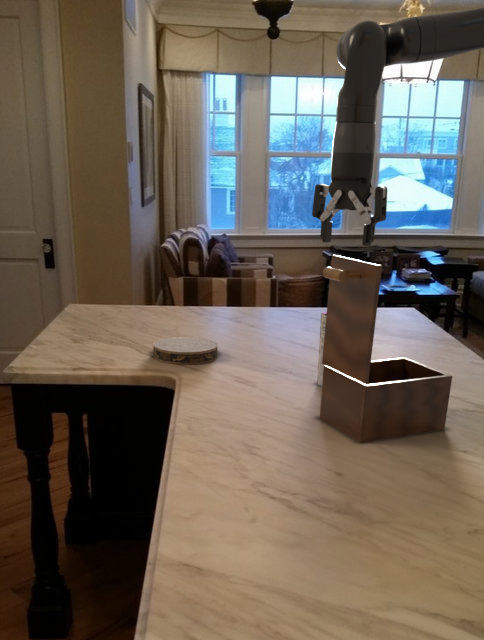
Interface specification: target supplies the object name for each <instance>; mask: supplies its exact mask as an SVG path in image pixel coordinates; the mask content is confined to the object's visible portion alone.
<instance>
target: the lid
mask: <svg viewBox="0 0 484 640" xmlns="http://www.w3.org/2000/svg"><path fill="white" fill-rule="evenodd" d="M382 270H383V265H382V264H377V263H373V262H369V261H364V260H360V259H356V258H352V257H351V258H350V257H346V256H342V255H337V254H331V261H330V266H326V267H324V268H323V270H322V276H323V277H324V278H326V279H329V284H328V285H329V286H328V296H327V303H326V312H327V315H326V326H325V336H324V347H323V358H322V364H325V365H327V366H329V367H331V368H333V369H335V370H337V371H339V372H341V373H343V374H345V375H347V376H350V377H352V378H354V379H356V380H358V381H360V382H362V383H364V384H366V383H368V380H369V372H370V364H371V361H372V355H373V348H374V347H373V345H374V339H375V331H376V330H375V329H376V321H377V313H378V303H379V297H380V296H379V295H380V289H381V288H380V287H381V279H382V272H383V271H382Z"/></svg>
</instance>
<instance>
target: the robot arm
mask: <svg viewBox="0 0 484 640" xmlns="http://www.w3.org/2000/svg"><path fill="white" fill-rule="evenodd" d="M337 41H338V42H337V45H336V49H335V52H336V53H335V54H336V59H337V61H338V63H339V64H340V66H341V67H342V68H343V69H344V77H343V84H342V87H341V88H340V90H339V92H338V95H337V100H336V113H335V124H334V131H333V137H332V144H331V145H332V146H331V166H330V184H329V185H327V184H325V183H318V184H316V185H315V186H314V191H313V192H314V193H313V201H312V203H313V204H312V210H311V211H312V212H311V217H313V218H316V219H318V220H319V221H320V224H321V225H320V234H319V236H320V239H321V240H322V241H321V242H322V243H326V244H327V243H331V242H332V235H333V221H332V220H333V218H334V216H335V215H336V214H337V213H339V212H340V211H343V210H345V211H346V210H348V211H357V213H358V214H359V215H360V216H361V218H362V220H363V221H364V224H363V231H362V232H363V233H362V242H361V243H362V246H363V247H369V246H371V245H372V243H374V241H375V234H376V225H377V224H378V223H381V222H384V221H386V220H387V209H388V187H387V186H386V185H385V186H379V185H378V186H376V187H373V186H372V180H373V179H372V178H373V173H374V172H373V171H374V162H375V161H374V160H375V150H376V149H375V148H376V120H377V107H378V95H379V90H380V87H381V83H382V79H383V74H384V71H385V67H389V66H394V65H409V64H410V65H411V64H417V63H418V64H419V63H425V62H431V61H438V60H443V59H446V58H447V59H448V58H451V57H455V56H459V55H462V54H466V53H469V52H470V53H471V52H475V51H478V50H483V49H484V7H478V8H473V9H472V8H471V9H464V10H457V11H449V12H441V13H432V14H424V15H417V16H410V17H406V18H401V19H399V20H397V21H394V22H391V23H384V24H380V23H378V22H376V21H374V20H364V21H359V22H358V23H356V24H355V25H353V26H352V27H350V28H348V29H347V30H346V31H344V32H343V33H342V35H341V36H340V37H339V38H338V40H337ZM328 195H329V196H330V197H331V199H330V200H329V202H328V203H327V205H326V201H327V199H326V198H327V197H328ZM371 196H372V199H373V200H374V208H373V207H372V206H371V204H370V202H369V198H370V197H371ZM373 209H374V211H373Z"/></svg>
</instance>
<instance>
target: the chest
mask: <svg viewBox="0 0 484 640" xmlns="http://www.w3.org/2000/svg"><path fill="white" fill-rule="evenodd" d="M452 381H453V375H452V374H449V373H446V372H443V371H441V370H439V369H436V368H433V367H431V366H429V365H426V364H423V363H421V362H418V361H417V360H413V359H410V358H408V357H396V358H395V357H394V358H386V359H385V358H384V359H375V360H371V364H370V372H369V380H368V383H366V384H364V383H362V382H360V381H358V380H356V379H354V378H352V377H350V376H347V375H345V374H343V373H341V372H339V371H337V370H335V369H333V368H331V367H329V366H327V365H326V366H324V369H323V381H322V386H321V395H320V408H319V420H322V421H324V422H325V423H326V424H329V425H330V426H332V427H333V428H335V429H337V430H338V431H340V432H342V433H343V434H344V435H346V436H348V437H350V438H352V439H353V440H354V441H356V442H358V443H359V444H362V443H369V442H374V441H381V440H387V439H393V438H400V437H406V436H407V437H408V436H413V435H419V434H420V435H421V434H425V433H432V432H438V431H445V428H446V421H447V417H448V416H447V414H448V408H449V401H450V396H451V388H452Z"/></svg>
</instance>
